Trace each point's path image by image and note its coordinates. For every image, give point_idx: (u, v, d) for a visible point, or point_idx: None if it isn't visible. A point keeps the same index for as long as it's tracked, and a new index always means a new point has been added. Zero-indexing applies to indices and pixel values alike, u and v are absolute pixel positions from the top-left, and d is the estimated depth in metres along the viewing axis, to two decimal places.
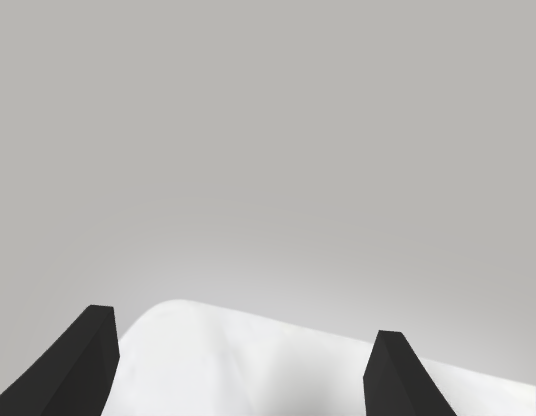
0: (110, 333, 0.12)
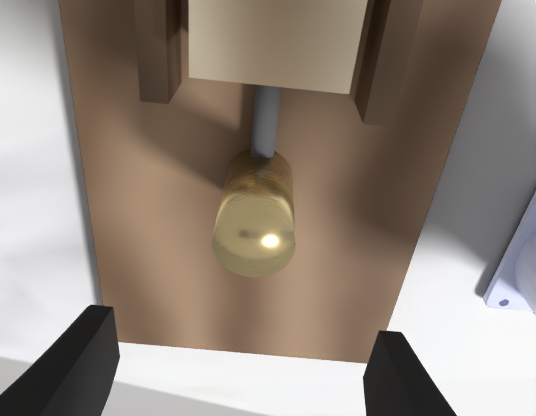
0: (110, 333, 0.12)
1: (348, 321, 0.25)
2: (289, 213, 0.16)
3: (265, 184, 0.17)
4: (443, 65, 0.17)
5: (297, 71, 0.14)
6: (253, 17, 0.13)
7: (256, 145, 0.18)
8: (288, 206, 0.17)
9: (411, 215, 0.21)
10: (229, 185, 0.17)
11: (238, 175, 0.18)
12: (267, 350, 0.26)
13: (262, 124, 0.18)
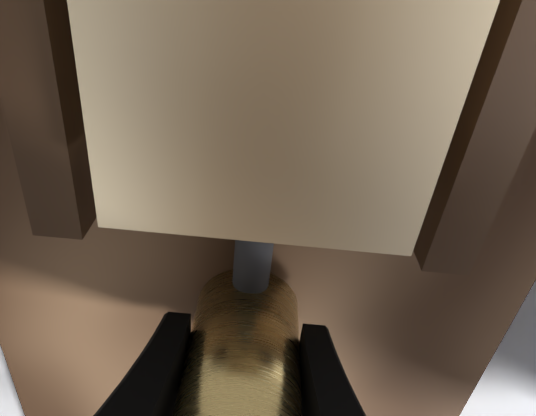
0: (188, 339, 0.12)
1: None
2: None
3: (253, 361, 0.10)
4: None
5: (311, 219, 0.07)
6: (219, 124, 0.06)
7: (240, 275, 0.12)
8: (292, 400, 0.10)
9: (471, 353, 0.14)
10: (196, 351, 0.11)
11: (210, 331, 0.11)
12: None
13: (249, 248, 0.11)
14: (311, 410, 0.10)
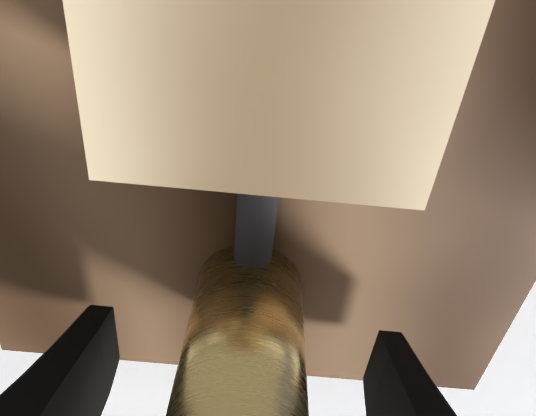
0: (110, 333, 0.12)
1: (439, 313, 0.13)
2: (299, 394, 0.09)
3: (256, 335, 0.10)
4: None
5: (318, 168, 0.06)
6: (218, 58, 0.06)
7: (242, 249, 0.11)
8: (297, 376, 0.09)
9: None
10: (195, 327, 0.10)
11: (211, 306, 0.10)
12: None
13: (251, 219, 0.11)
14: None
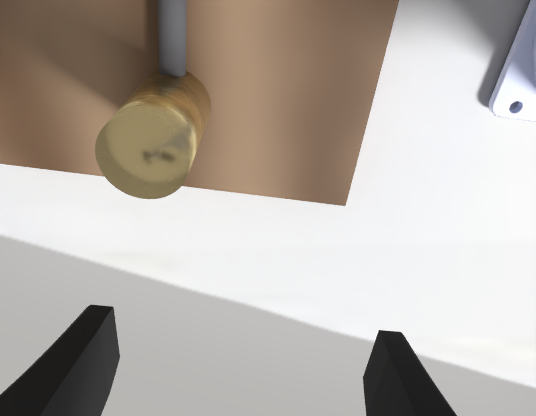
0: (110, 333, 0.12)
1: (310, 132, 0.19)
2: (185, 125, 0.14)
3: (162, 95, 0.15)
4: None
5: None
6: None
7: (163, 60, 0.17)
8: (186, 119, 0.15)
9: None
10: None
11: (138, 89, 0.16)
12: (206, 181, 0.20)
13: (166, 34, 0.16)
14: None
